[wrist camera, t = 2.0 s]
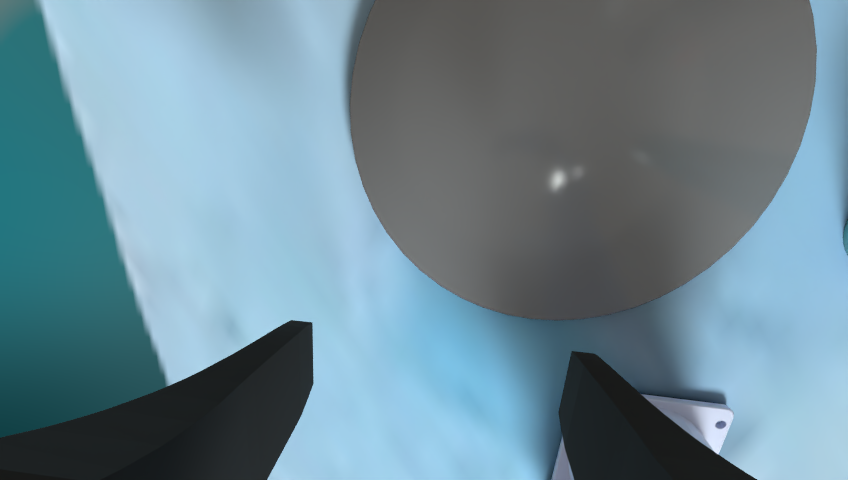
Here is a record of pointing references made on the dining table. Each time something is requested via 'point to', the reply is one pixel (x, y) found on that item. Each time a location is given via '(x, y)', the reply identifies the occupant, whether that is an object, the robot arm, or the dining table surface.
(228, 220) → the dining table surface
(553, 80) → the slate plate
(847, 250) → the pepper shaker
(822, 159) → the dining table surface
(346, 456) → the dining table surface
